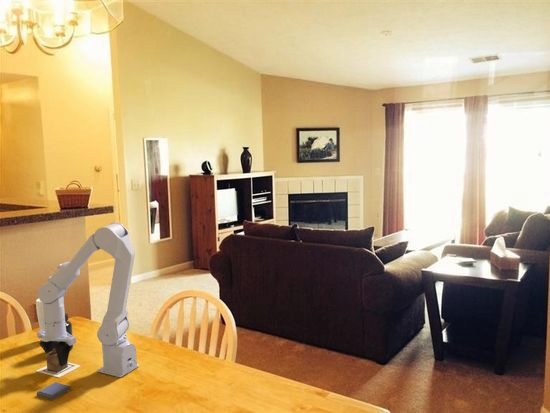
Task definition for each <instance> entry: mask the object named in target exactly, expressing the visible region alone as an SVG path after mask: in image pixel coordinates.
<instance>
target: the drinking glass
mask: <svg viewBox="0 0 550 413" xmlns="http://www.w3.org/2000/svg"><path fill="white" fill-rule="evenodd" d="M35 308H36V314H37V319H38V320H37V321H38V326H39V331H41V330H45V326H44V315H43V304H42V301H41V300H40V299H39V298H37V299H36V300H35ZM40 339H41V341H43V338H40Z"/></svg>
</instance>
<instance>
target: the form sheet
mask: <svg viewBox="0 0 550 413" xmlns="http://www.w3.org/2000/svg"><path fill="white" fill-rule="evenodd" d="M67 362H68V367H67V368H65V369H63V370H62V371H60V372H58V373H55V372H51V371H47V365H45V366H44V367H41V368H39V369H37V370H35V372H37V373H41V374H45V375H48V376H50V377H54V378H58V379H60V378H61V377H64V376H66V375H68V374H70V373H71V372H73V371H75V370H77V369H78V368H80V367H82V365H80V364H77V363H73V362H69V361H67Z"/></svg>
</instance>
